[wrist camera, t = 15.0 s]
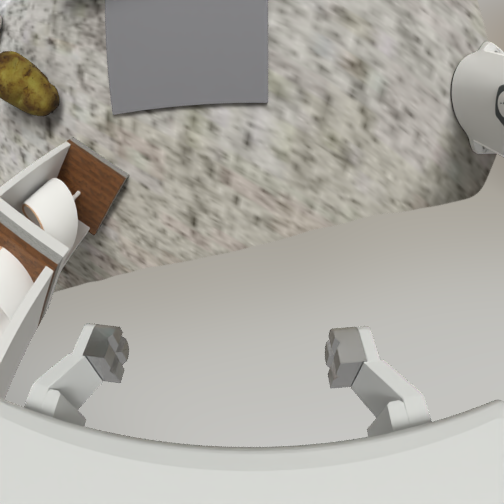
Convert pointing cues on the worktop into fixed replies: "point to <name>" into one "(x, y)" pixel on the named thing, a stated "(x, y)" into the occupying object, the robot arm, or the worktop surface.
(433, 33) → the worktop surface
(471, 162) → the worktop surface
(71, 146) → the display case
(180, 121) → the worktop surface
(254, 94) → the mat
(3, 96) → the potato
